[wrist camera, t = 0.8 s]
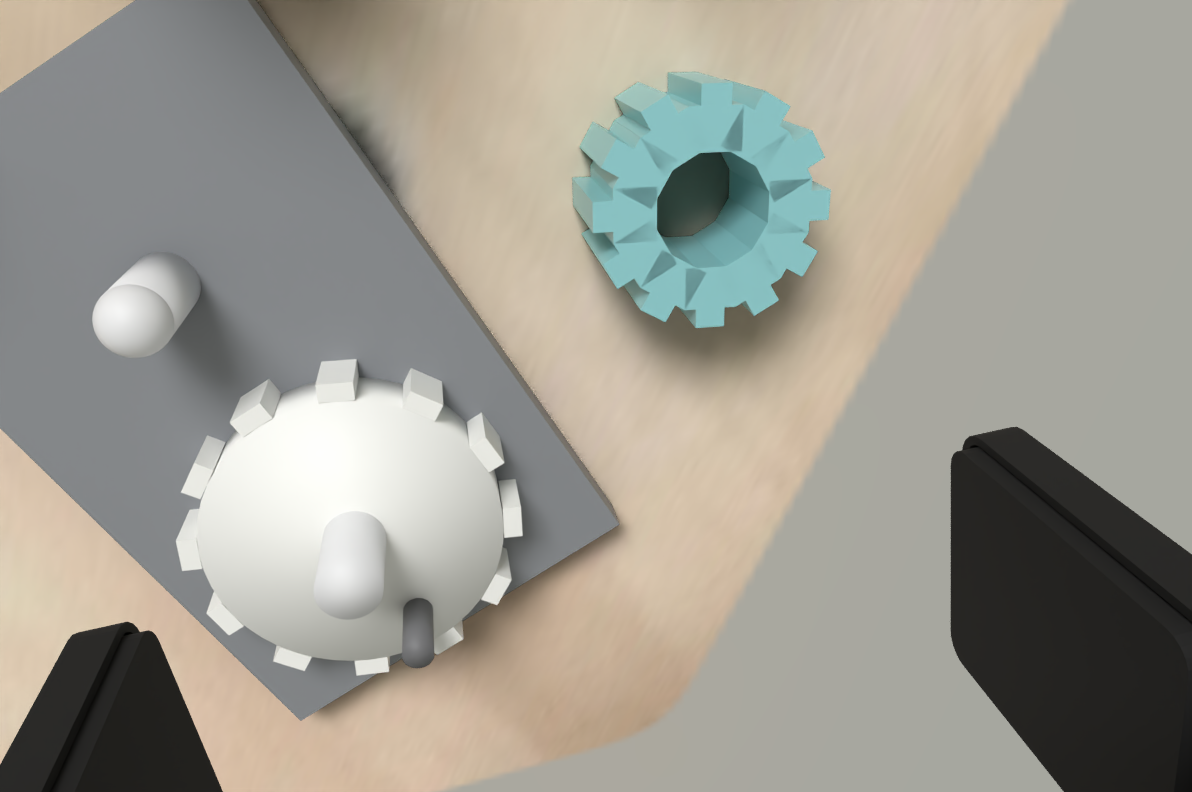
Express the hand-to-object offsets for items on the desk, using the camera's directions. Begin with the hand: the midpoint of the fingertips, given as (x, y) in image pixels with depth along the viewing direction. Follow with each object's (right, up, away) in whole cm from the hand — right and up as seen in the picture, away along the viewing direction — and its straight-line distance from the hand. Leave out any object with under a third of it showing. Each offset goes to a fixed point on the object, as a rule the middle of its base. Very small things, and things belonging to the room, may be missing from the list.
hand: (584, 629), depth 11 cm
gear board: (-11, +3, +21) cm, 24 cm away
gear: (+3, +10, +21) cm, 23 cm away
